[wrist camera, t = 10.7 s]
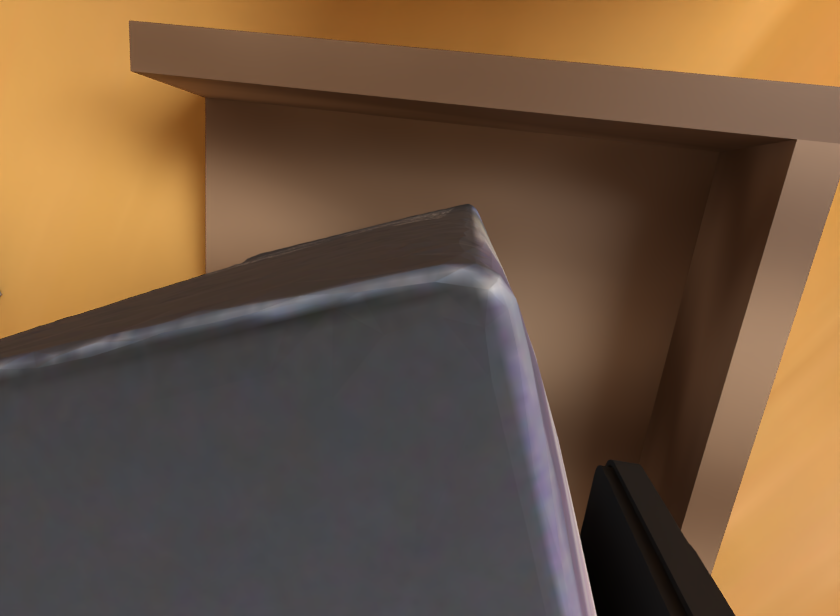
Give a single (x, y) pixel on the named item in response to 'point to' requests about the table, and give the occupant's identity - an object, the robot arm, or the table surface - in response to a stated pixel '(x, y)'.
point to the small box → (292, 442)
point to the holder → (549, 218)
